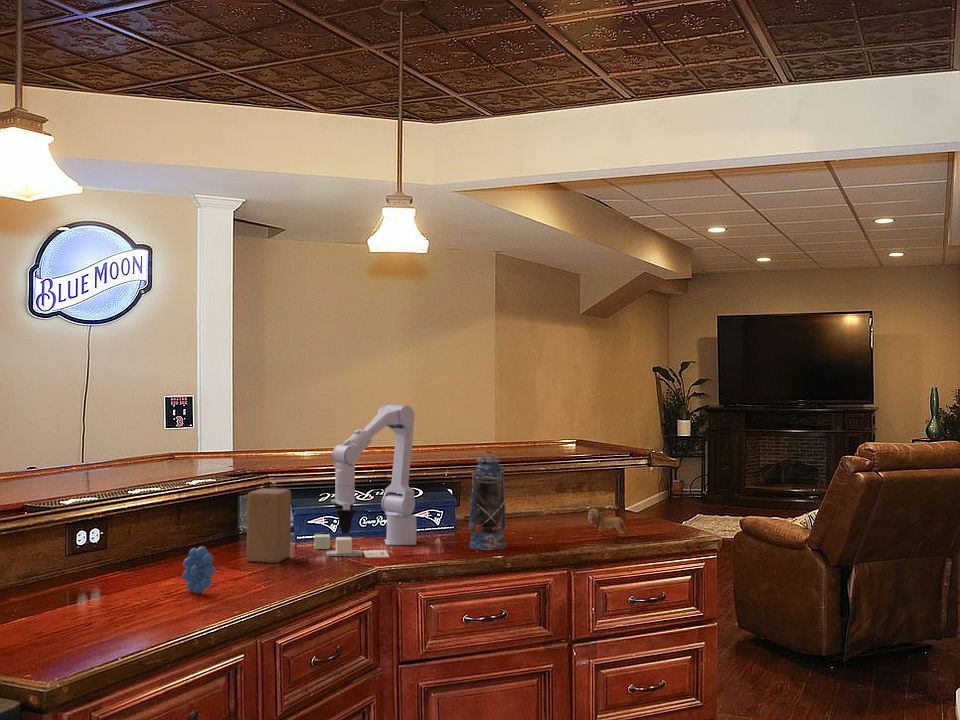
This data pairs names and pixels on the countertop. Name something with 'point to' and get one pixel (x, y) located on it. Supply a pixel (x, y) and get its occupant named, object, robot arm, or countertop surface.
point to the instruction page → (376, 554)
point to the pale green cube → (322, 541)
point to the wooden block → (268, 525)
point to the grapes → (198, 570)
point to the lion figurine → (605, 521)
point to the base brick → (354, 553)
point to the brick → (343, 545)
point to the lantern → (487, 505)
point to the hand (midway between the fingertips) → (344, 530)
